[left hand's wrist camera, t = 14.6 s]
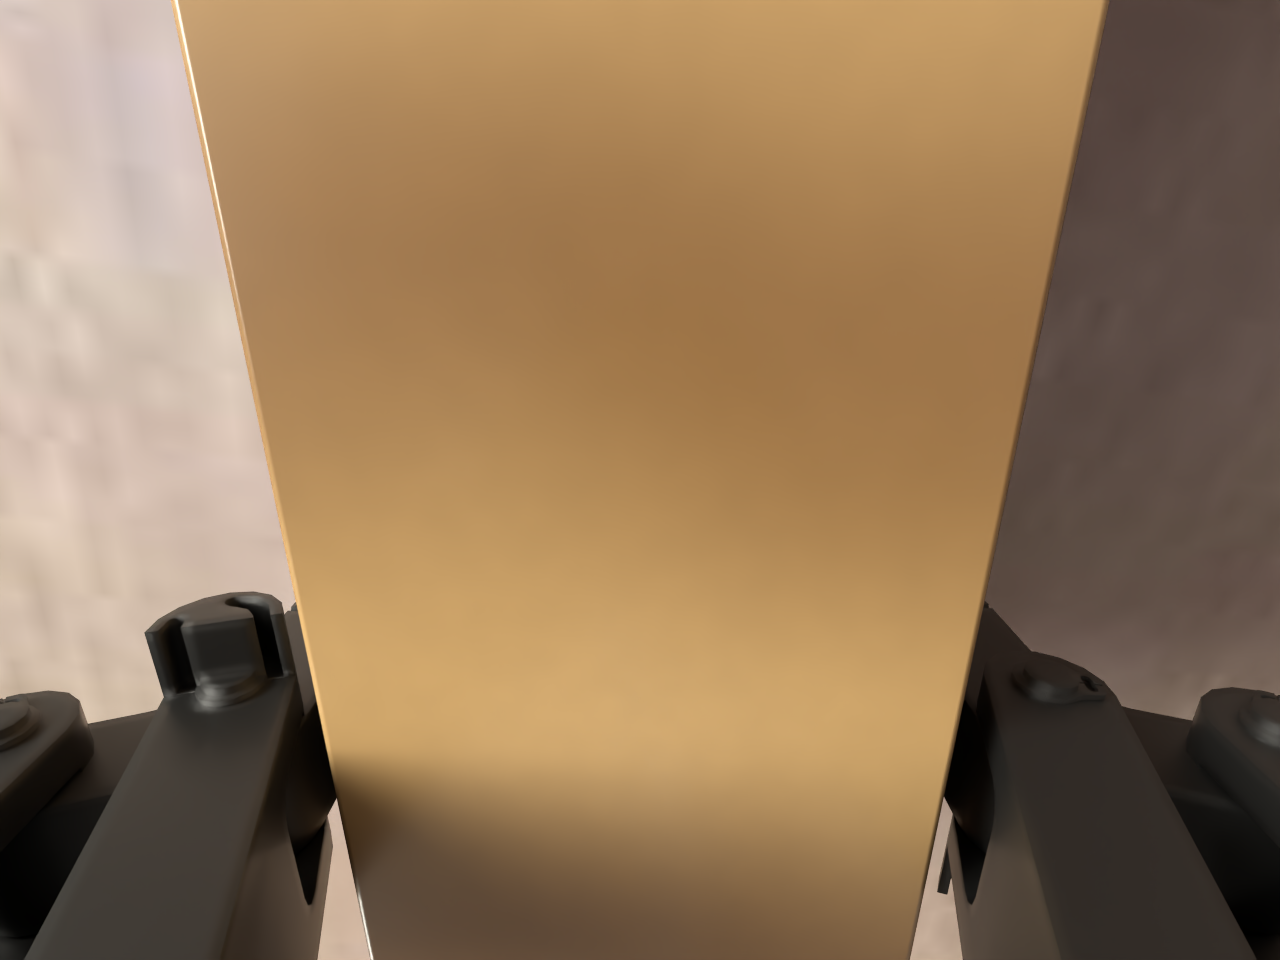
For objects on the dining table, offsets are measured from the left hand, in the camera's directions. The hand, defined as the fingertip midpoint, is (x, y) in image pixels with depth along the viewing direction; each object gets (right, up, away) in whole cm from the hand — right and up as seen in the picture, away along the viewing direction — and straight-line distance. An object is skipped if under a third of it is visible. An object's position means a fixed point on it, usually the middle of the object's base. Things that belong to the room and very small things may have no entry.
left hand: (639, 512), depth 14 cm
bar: (0, +9, -3) cm, 10 cm away
